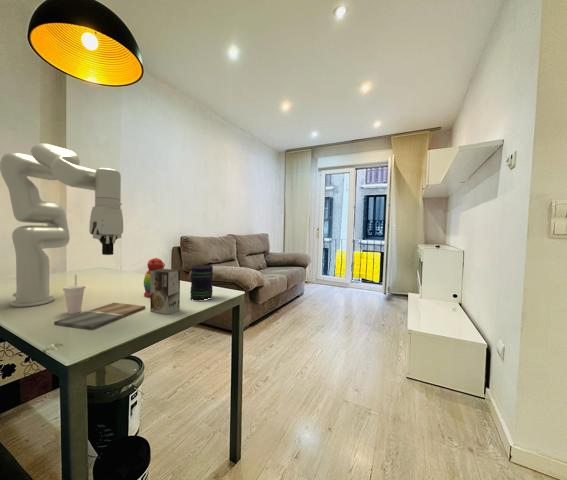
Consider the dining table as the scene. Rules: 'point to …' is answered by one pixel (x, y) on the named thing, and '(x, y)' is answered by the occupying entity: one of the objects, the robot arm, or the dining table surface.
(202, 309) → the dining table surface
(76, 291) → the smoothie
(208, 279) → the storage jar
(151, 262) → the stacking bear
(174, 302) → the coffee box
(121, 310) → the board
